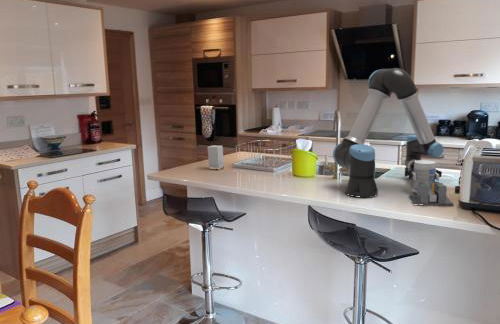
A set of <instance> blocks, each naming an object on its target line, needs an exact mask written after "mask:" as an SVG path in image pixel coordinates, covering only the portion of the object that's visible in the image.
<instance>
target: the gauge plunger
mask: <svg viewBox="0 0 500 324" xmlns="http://www.w3.org/2000/svg"><path fill="white" fill-rule="evenodd" d="M418 183H426V184H427V185H428V186H429V200H428V201H429V202H436V198H437V195H436V194H435V193H434V186H435V183H440V181H435V182H429V181H418ZM417 192H418V185H417Z"/></svg>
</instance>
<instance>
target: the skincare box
mask: <svg viewBox="0 0 500 324" xmlns="http://www.w3.org/2000/svg"><path fill="white" fill-rule="evenodd" d="M207 157H208V168H209V167H214V168H220V167H223V166H224V167H225V160H224V147H223V145H213V144H212V145H210V146H209V145H208V146H207Z"/></svg>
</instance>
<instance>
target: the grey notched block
mask: <svg viewBox="0 0 500 324" xmlns="http://www.w3.org/2000/svg"><path fill="white" fill-rule="evenodd" d="M447 189H448V188H447V186H446V185H445V184H444V183H442V182H439V183H435V186H434V193H435V194H436V195H437V198H436V202H429V201H428V200H429V186H428V185H427V184H426V183H418V192H417V193H416V195H415V194H409V195H408V199H409V198H410V199H409V201H410V200H411V201H412V202H411V201H410V202H411V204H412V203H413V204H423V205H422V206H424V205H439V206H438V207H454V202H453V201H451V200H450V198H449V197H448V196H447ZM413 204H412V205H413ZM440 205H441V206H440Z"/></svg>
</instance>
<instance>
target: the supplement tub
mask: <svg viewBox="0 0 500 324" xmlns="http://www.w3.org/2000/svg"><path fill="white" fill-rule="evenodd" d="M436 170H437V162H436V161H434V160H426V159H421V160H417V161H415V162H414V173H415V174H416V180H413V179H412V190H413V191H412V192H414V193H416V194H417V185H418V181H429V182H436V179H435V174H436Z"/></svg>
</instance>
